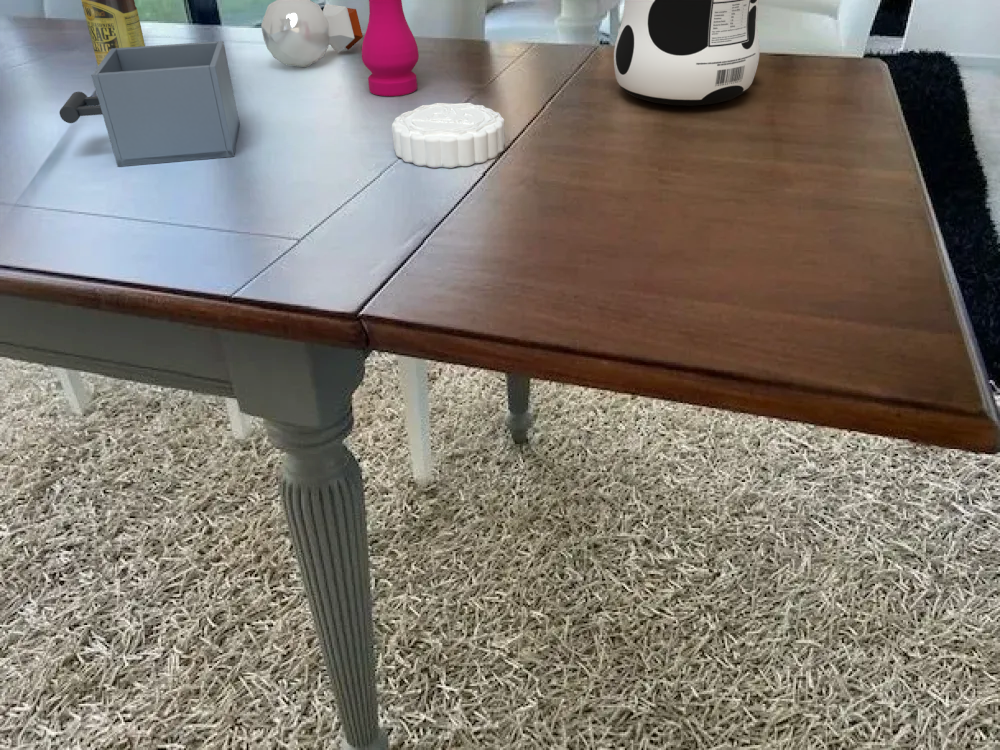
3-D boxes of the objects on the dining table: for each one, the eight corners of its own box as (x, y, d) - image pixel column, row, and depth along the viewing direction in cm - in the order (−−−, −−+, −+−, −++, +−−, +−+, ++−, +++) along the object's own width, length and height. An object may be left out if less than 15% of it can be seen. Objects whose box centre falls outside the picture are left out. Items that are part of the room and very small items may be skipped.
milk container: (636, 70, 116) (645, -78, 106) (765, 83, 110) (789, -74, 100) (592, 107, 103) (598, -58, 93) (736, 123, 97) (759, -52, 87)
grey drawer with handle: (68, 171, 89) (39, 78, 84) (89, 137, 98) (64, 51, 93) (233, 156, 92) (215, 66, 86) (239, 124, 101) (223, 40, 95)
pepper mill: (376, 81, 115) (358, -87, 103) (427, 83, 113) (416, -87, 102) (357, 96, 109) (337, -80, 98) (412, 99, 108) (397, -80, 96)
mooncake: (516, 134, 96) (515, 101, 94) (489, 172, 86) (488, 138, 84) (415, 127, 98) (412, 96, 96) (377, 164, 89) (374, 130, 87)
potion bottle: (267, 83, 120) (342, 71, 131) (304, 47, 113) (380, 37, 124) (236, 22, 119) (314, 15, 130) (271, -18, 112) (351, -22, 123)
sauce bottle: (96, 95, 112) (47, -74, 101) (136, 83, 117) (94, -81, 105) (126, 102, 109) (79, -71, 98) (166, 90, 113) (126, -78, 102)
